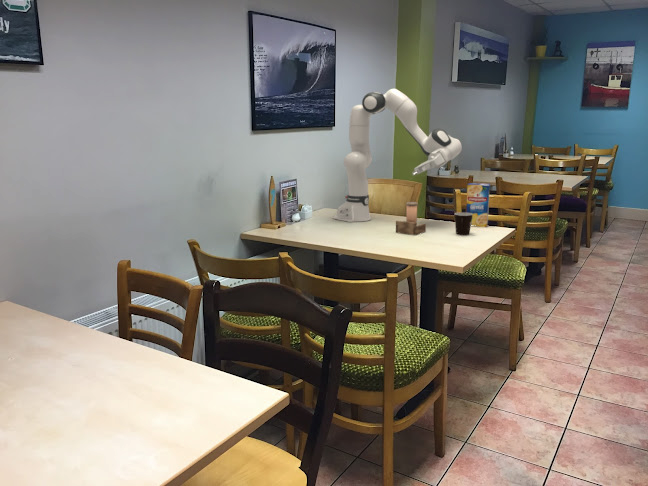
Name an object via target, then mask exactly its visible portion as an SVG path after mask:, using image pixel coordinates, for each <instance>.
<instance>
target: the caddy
mask: <svg viewBox="0 0 648 486" xmlns="http://www.w3.org/2000/svg"><path fill="white" fill-rule="evenodd" d="M426 227H427V224H426V223H422V224H421V223H420V224H419V225H418V222H417V223H413V222H406V221H402V220H395V233H397V234H404V235H409V236H410V235H411V236H417V235H420V233H421V234H423V233H426V230H427V229H426Z"/></svg>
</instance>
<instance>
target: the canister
mask: <svg viewBox="0 0 648 486" xmlns="http://www.w3.org/2000/svg"><path fill="white" fill-rule="evenodd" d="M405 205H406V212H405V213H406V215H405V216H406V217H405V219H406V221H405V222H413V223H417V224H418V222H417V220H418V202H416V201H408V202H406V203H405Z"/></svg>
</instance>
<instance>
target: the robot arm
mask: <svg viewBox="0 0 648 486" xmlns="http://www.w3.org/2000/svg"><path fill="white" fill-rule="evenodd" d="M386 109H388V110H390V111H391V112H392V114H394V115H395V116H396V117H397V118H398V119H399V120H400V122H401V124H402V125H403V128H404V129H405V130H406V132H408V134H409V135H410V136H411V137H412V138H413V140H414V141H415V142H416V143H417V144H418V145H419V147H420V149H421V151H422V152H423V153H424V155H426V156H428V159H427V160H426V161H423V162H422V163H421V164H419V165H417V166H416V167H414V169H413V171H412V172H411V173H412V176H415V175H419V174H422V173H423V172H426V171H428V170H430V169H433V168H436V169H440V168H441V167H443V166H445V165H446V164H447V163H448V162H449V161H452V160H453V159H455V158H456V157H457V156H458V155H460V153H461V152H462V151H463V150H462V149H463V147H462V143H461V141H460V140H459V139H458V138H454V137H452V136H451V135H449V134H448V133H447V131H446V130H445V129H443V128H440V127H439V128H437V127H436V128H434V129H433V130H432V131H431V132H430V134H429V135H427V134H426V133H425V132H424V131H423V130H422V129H421V128H420V126H419V124H418V120H417V119H418V118H417V117H418V107H417V105H416V104H415V102H414V101H413V100H412V99H410V97H409V96H407V95H406V94H405V93H403V92H402V91H400V90H398V89H397V88H391V89H388V90H387V91H386V93H381V92H378V91H372V92H368V93H367V94H365V95H364V96H363V97H362V102H361V104H356V105H354V106H353V107H352V108H351V111H350V116H349V117H350V118H349V124H348V125H349V127H348V128H349V129H348V140H349V143H350V148H351V149H350V150H351V152H349V153H348V154H346V156H345V157H344V159H343V165H344V167H345V168H344V169H345V171H346V175H347V180H348V195H346V196H344V197H345V199H346V201H344V202H343V203H342V204H341V205H339V207H338V208H337V209H336V215H334V216H333V217H332V219H334V220H338V221H341V222H347V223H351V222H352V223H354V222H367V221H371V220H372V217H371V214H370V207H369V205H370V204H369V202H370V195H369V180H368V178H367V174H366V169H367V168H368V167H370V165H371V163H372V162H373V161H372V160H373V157H372V154H371V146H370V145H371V144H370V122H371V121H370V120H371V117H372V115H375V114H379V113H381V112H383V111H385V110H386Z"/></svg>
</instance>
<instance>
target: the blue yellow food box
mask: <svg viewBox="0 0 648 486" xmlns="http://www.w3.org/2000/svg"><path fill="white" fill-rule="evenodd" d="M490 187H491V183H478V182H476V183H475V182H473V183H472V182H470V183H467V188H466V189H467V190H466V191H467V192H466V208H465V209H466V210H465V213H471V214H473V215H472V221H471V225H476V226H478V228H488V225H489V209H490V208H489V205H490V191H491V190H490Z"/></svg>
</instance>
